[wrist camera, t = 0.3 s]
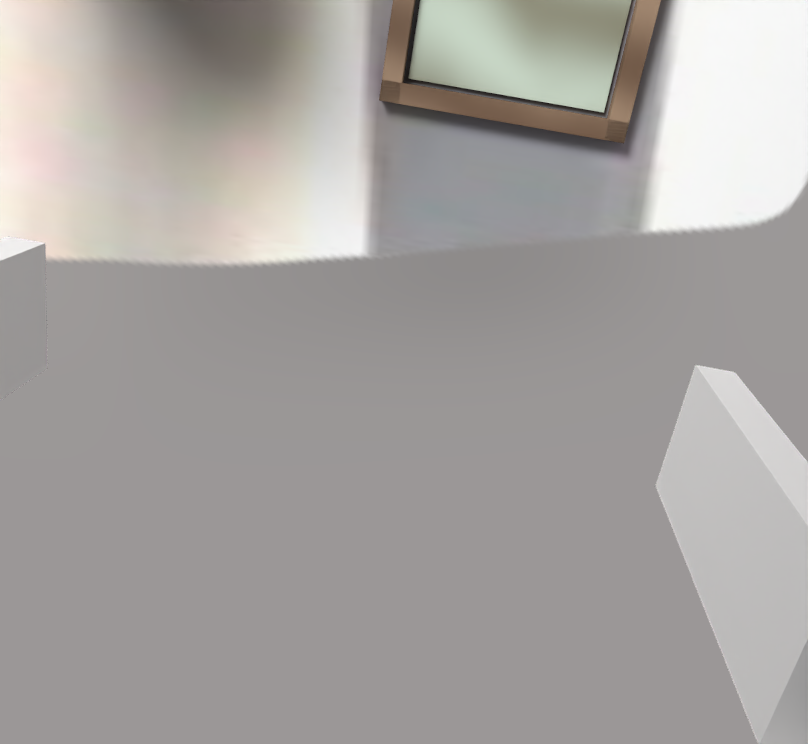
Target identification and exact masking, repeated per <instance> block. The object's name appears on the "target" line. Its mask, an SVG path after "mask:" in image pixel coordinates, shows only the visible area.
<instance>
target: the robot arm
mask: <svg viewBox="0 0 808 744" xmlns="http://www.w3.org/2000/svg"><path fill="white" fill-rule="evenodd" d="M46 312H47V311H46V253H45V243H42V242H37V241H31V240H26V239H20V238H15V237H10V236H8V237H5V238H2V239H0V400H2V399H3V398H5V397H6V396H8V395H9V394H10V393H12V392H14V391H15V390H17V389H18V388H19V387H21V386H22V385H24V384H25V383H27V382H28V381H30V380H31V379H33V378H34V377H36V376H37V375H39V374H40V373H42V372H43V371H45V370H46V369H47V315H46V314H47V313H46ZM656 488H657V491H658V493H659V496H660V498H661V501H662V503H663V506H664V509H665V511H666V514H667V516H668V519H669V521H670V524H671V526H672V529H673V531H674V534H675V536H676V539H677V541H678V544H679V546H680V549H681V551H682V554H683V557H684V559H685V562H686V564H687V567H688V569H689V572H690V574H691V576H692V579H693V582H694V584H695V586H696V589H697V592H698V594H699V597H700V599H701V602H702V604H703V607H704V609H705V611H706V614H707V617H708V619H709V622H710V624H711V627H712V629H713V632H714V634H715V637H716V639H717V642H718V644H719V647H720V650H721V652H722V655H723V657H724V660H725V662H726V665H727V667H728V670H729V672H730V675H731V677H732V680H733V682H734V685H735V687H736V690H737V692H738V695H739V697H740V700H741V702H742V705H743V707H744V710H745V713H746V715H747V717H748V720H749V722H750V725H751V728H752V730H753V733H754V735H755V738H756V740H757V742H758V744H808V462H807V461H806V460H805V459H804V457H803V456H802V455H801V454H800V452H799V451H798V450H797V449H796V447H795V446H794V445H793V444H792V442H791V441H790V440H789V439H788V437H787V436H786V435H785V434H784V432H783V431H782V430H781V429H780V428H779V426H778V425H777V424H776V423H775V422H774V420H773V419H772V418H771V416H770V415H769V414H768V413H767V411H766V410H765V409H764V408H763V407H762V405H761V404H760V403H759V402H758V400H757V399H756V398H755V397H754V395H753V394H752V393H751V392H750V390H749V389H748V388H747V387H746V385H745V384H744V383H743V382H742V381H741V379H740V378H739V377H738V376H737V375H736V373H735V372H731V371H726V370H721V369H715V368H710V367H704V366H699V365H695V368H694V371H693V374H692V377H691V380H690V383H689V386H688V389H687V392H686V396H685V398H684V401H683V404H682V407H681V410H680V413H679V417H678V420H677V422H676V426H675V428H674V432H673V435H672V438H671V441H670V444H669V447H668V450H667V453H666V456H665V459H664V462H663V465H662V468H661V471H660V474H659V477H658V480H657V483H656Z"/></svg>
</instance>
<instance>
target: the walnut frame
mask: <svg viewBox="0 0 808 744" xmlns="http://www.w3.org/2000/svg"><path fill="white" fill-rule="evenodd" d="M415 1H416V0H393V5H392V12H391V19H390V26H389V34H388V41H387V48H386V55H385V62H384V69H383V76H382V83H381V91H380V98H379V100H380V101H386V102H391V103H397V104H403V105H409V106H414V107H420V108H426V109H431V110H437V111H443V112H448V113H454V114H460V115H465V116H471V117H477V118H482V119H488V120H494V121H500V122H505V123H511V124H517V125H522V126H528V127H534V128H539V129H545V130H551V131H556V132H562V133H568V134H573V135H579V136H585V137H591V138H596V139H602V140H608V141H613V142H619V143H624V141H625V137H626V133H627V129H628V126H629V122H630V118H631V114H632V110H633V106H634V102H635V98H636V95H637V91H638V87H639V83H640V79H641V75H642V71H643V68H644V64H645V60H646V56H647V52H648V48H649V44H650V40H651V37H652V33H653V29H654V25H655V21H656V17H657V13H658V10H659V6H660V2H661V0H636V3H635V7H634V11H633V15H632V19H631V23H630V27H629V31H628V35H627V39H626V43H625V47H624V51H623V56H622V60H621V64H620V68H619V72H618V76H617V80H616V84H615V88H614V92H613V96H612V100H611V104H610V108H609V112H608V116H607V118H602V117H596V116H591V115H585V114H579V113H573V112H568V111H562V110H556V109H550V108H545V107H539V106H533V105H528V104H522V103H516V102H510V101H505V100H499V99H493V98H488V97H482V96H476V95H470V94H465V93H459V92H453V91H447V90H442V89H436V88H430V87H425V86H419V85H413V84H407V83H403V81H404V75H405V68H406V61H407V55H408V48H409V41H410V35H411V28H412V21H413V15H414V8H415ZM630 4H631V0H420V6H419V13H418V19H417V26H416V32H415V39H414V45H413V52H412V59H411V65H410V72H409V79H414V80H420V81H426V82H432V83H437V84H443V85H449V86H455V87H460V88H466V89H472V90H477V91H483V92H489V93H495V94H500V95H506V96H512V97H518V98H523V99H529V100H535V101H541V102H546V103H552V104H558V105H563V106H569V107H575V108H581V109H586V110H592V111H598V112H604V110H605V106H606V102H607V98H608V94H609V90H610V85H611V81H612V77H613V73H614V69H615V65H616V61H617V57H618V53H619V49H620V45H621V41H622V37H623V33H624V28H625V24H626V20H627V16H628V12H629V8H630Z"/></svg>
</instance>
